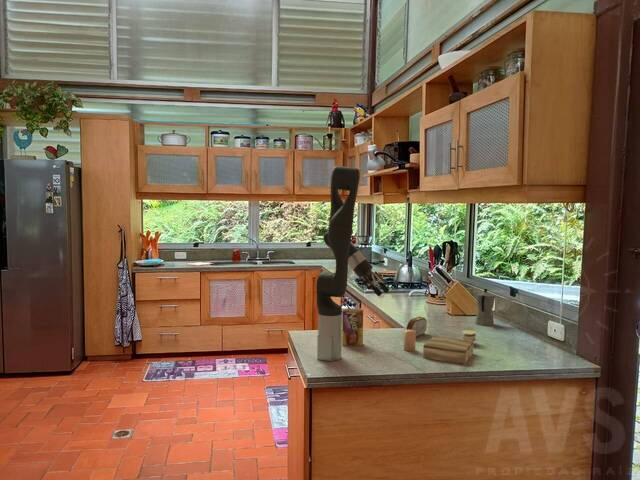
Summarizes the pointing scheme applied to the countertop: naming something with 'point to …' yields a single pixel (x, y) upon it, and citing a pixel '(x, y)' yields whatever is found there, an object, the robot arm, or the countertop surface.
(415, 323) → the tin
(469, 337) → the stacked layers on plate
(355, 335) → the candy box
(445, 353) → the plinth
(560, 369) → the countertop surface
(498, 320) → the countertop surface
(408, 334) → the peach domed capsule
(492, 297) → the coffeepot
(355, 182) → the robot arm
